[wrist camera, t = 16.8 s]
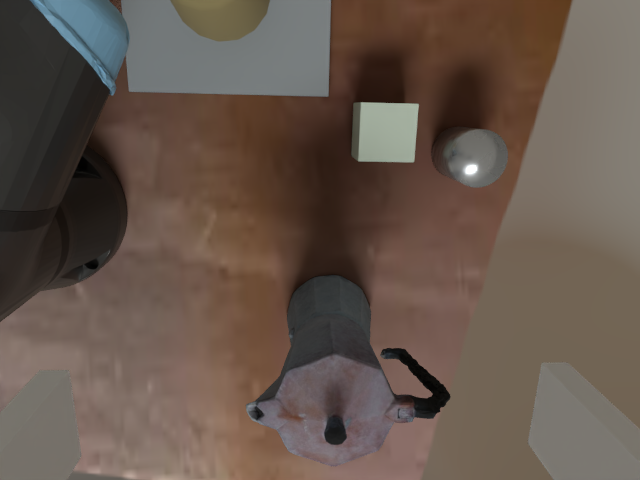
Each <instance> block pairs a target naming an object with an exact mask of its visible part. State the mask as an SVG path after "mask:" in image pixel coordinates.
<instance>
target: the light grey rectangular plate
mask: <svg viewBox="0 0 640 480" xmlns="http://www.w3.org/2000/svg"><path fill="white" fill-rule="evenodd" d="M121 5H122V16H123V18H124V19H125V21H126V23H127V27H128V30H129V34H130V41H129V47H128V50H127V52H126V63H127V74H128V86H129V92H160V93H200V94H240V95H281V96H321V97H328V93H329V55H330V17H331V0H270V2H269V6H268V10H267V14H266V15H265V17H264V18H263V19H262V21H261V22H260V24H259V25H258V26H257V28H256V29H255V30H254V31H252V32H251V33H249V34H247V35H245V36H244V37H242V38H240V39H239V40H231V41H221V42H218V41H215V40H212V39H209V38H206V37H202V36H199V35H198V34H197V33H196V32H195V31H193V30H192V29H191V28H190V27H189V26H187V25H186V24H185V23H184V22H183V21H182V19H181V18H180V16H179V14H178V13H177V11H176V9H175V8H174V6H173V4H172V3H171V1H170V0H121Z"/></svg>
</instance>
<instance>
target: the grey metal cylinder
mask: <svg viewBox="0 0 640 480" xmlns="http://www.w3.org/2000/svg"><path fill="white" fill-rule="evenodd" d="M431 156H432V162H433V164H434V166H435V168H436V169H437V170H438V171H439V172H440V173H441V174H443V175H445V176H447V177H449V178H451V179H454V180H456V181H458V182H460V183H462V184H465V185H467V186H470V187H484V186H487V185H489V184H491V183H493V182H494V181H496V180H497V179H498V178H499V177H500V176H501V174H502V173H503V171H504V169H505V167H506V164H507V160H508V151H507V147H506V144H505V142H504V141H503V139H502V138H501V137H500V136H499V135H498V134H496V133H494V132H492V131H489V130H483V129H475V128H467V127H452V128H449V129H447V130H445V131H443V132H442V133H441V134H440V135H439V136H438V137H437V138H436V140H435V142H434V144H433V147H432V152H431Z"/></svg>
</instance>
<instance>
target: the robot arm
mask: <svg viewBox="0 0 640 480" xmlns="http://www.w3.org/2000/svg"><path fill="white" fill-rule="evenodd" d="M129 41H130V34H129V30H128V27H127V23H126V21H125V19H124V18H123V16H122V15H121V13H120V12H119V11H118V9H117V8H116V7H115V6H114V5H113V4H112V3H111V2H110V1H109V0H0V322H1V321H2V320H3V319H5V318H6V317H7V316H8V315H10V314H11V313H12V312H14V311H15V310H16V309H18V308H19V307H20V306H21V305H23V304H24V303H25V302H27V301H28V300H29V299H30V298H32V297H33V296H34V295H36V294H37V293H38V292H40V291H44V290H51V289H57V288H63V287H67V286H71V285H74V284H76V283H79V282H81V281H83V280H85V279H87V278H89V277H90V276H92V275H93V274H95V273H96V272H97V271H98V270H99V269H101V268H102V267H103V266H104V265H105V264H106V263H107V262H108V261H109V260H110V259H111V258H112V257H113V256H114V255H115V253H116V252H117V250H118V248H119V247H120V245H121V243H122V240H123V237H124V234H125V230H126V224H127V207H126V201H125V197H124V193H123V191H122V188H121V185H120V183H119V181H118V179H117V177H116V176H115V174H114V172H113V171H112V169H111V168H110V167H109V165H108V164H107V163H106V162H105V161H104V160H103V159H102V158H101V157H100V156H99V155H98V154H97V153H96V152H95V151H94V150H92V149H91V148H90V147H88V146H87V143H88V141H89V138H90V136H91V134H92V132H93V129H94V127H95V125H96V123H97V120H98V118H99V116H100V114H101V111H102V109H103V107H104V105H105V103H106V100H107V98H108V96H109V94H110V95H113V94H114V93H115V90H116V85H115V80H116V78H117V75H118V73H119V70H120V68H121V65H122V63H123V60H124V57H125V55H126V52H127V50H128V47H129ZM528 444H529V446H530V447H531V449H532V450H533V451H534V453H535V454H536V456H537V457H538V458H539V460H540V461H541V463H542V464H543V466H544V467H545V468H546V470H547V471H548V472H549V474H550V475H551V477H552V478H553V479H554V480H640V429H639V428H638V427H637V426H636V425H635V424H634V423H633V422H632V421H630V420H629V419H628V418H627V417H626V416H625V415H624V414H623V413H622V412H621V411H620V410H618V409H617V408H616V407H615V406H614V405H613V404H612V403H611V402H610V401H609V400H608V399H607V398H605V397H604V396H603V395H602V394H601V393H600V392H599V391H598V390H597V389H596V388H595V387H593V386H592V385H591V384H590V383H589V382H588V381H587V380H586V379H585V378H584V377H583V376H582V375H581V374H579V373H578V372H577V371H576V370H575V369H574V368H573V367H572V366H571V365H570V364H569V363H567V362H560V363H542V364H541V370H540V376H539V382H538V387H537V394H536V399H535V405H534V410H533V416H532V422H531V427H530V433H529V439H528ZM80 457H81V449H80V442H79V435H78V428H77V421H76V414H75V407H74V400H73V393H72V386H71V379H70V372H69V370H44V371H39V372H38V373H37V374H36V375H35V376H34V377H33V378H32V379H31V380H30V381H29V382H28V383H27V384H26V385H25V387H24V388H23V389H22V390H21V391H20V392H19V393H18V394H17V395H16V396H15V397H14V398H13V399H12V400H11V402H10V403H9V404H8V405H7V406H6V407H5V408H4V409H3V410H2V411H1V412H0V480H67V479H68V478H69V476H70V474H71V473H72V471H73V469H74V468H75V466H76V464H77V463H78V461H79V459H80Z"/></svg>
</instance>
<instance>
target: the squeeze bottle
mask: <svg viewBox="0 0 640 480" xmlns="http://www.w3.org/2000/svg"><path fill="white" fill-rule="evenodd" d="M170 1H171V3H172V4H173V6H174V8H175V9H176V11H177V13H178V14H179V16H180V18H181V19H182V21H183V22H184V23H185V24H186V25H187V26H189V27H190V28H191V29H192V30H193V31H195V32H196V33H197V34H198V35H199V36H202V37H206V38H209V39H212V40H215V41H218V42H221V41H231V40H239V39H240V38H242V37H244V36H245V35H247V34H249V33H251V32H252V31H254V30H255V29H256V28H257V26H258V25H259V24H260V22H261V21H262V19H263V18H264V17H265V15H266V14H267V10H268V6H269V2H270V0H170Z"/></svg>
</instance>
